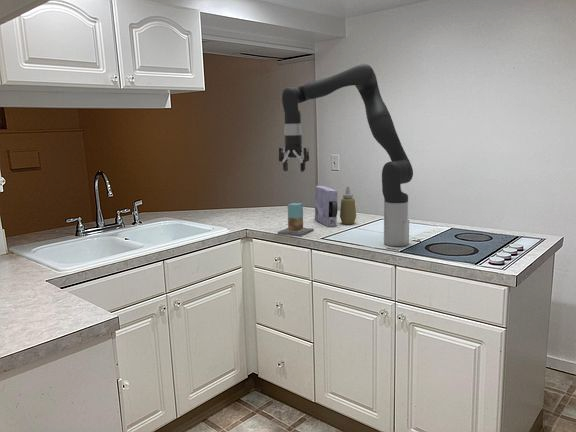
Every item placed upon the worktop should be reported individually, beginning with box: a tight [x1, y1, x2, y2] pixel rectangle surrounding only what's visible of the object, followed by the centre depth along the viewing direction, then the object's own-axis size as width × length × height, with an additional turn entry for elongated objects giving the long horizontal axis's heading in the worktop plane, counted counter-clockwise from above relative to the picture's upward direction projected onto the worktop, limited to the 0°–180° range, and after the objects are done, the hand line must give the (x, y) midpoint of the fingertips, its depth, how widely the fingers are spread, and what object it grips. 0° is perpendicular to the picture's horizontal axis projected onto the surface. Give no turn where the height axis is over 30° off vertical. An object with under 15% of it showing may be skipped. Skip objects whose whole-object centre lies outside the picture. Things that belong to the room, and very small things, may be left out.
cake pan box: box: [314, 185, 339, 228], centre depth 228 cm, size 19×5×18 cm, turn 18°
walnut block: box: [287, 216, 304, 232], centre depth 211 cm, size 5×5×6 cm
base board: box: [277, 227, 315, 238], centre depth 212 cm, size 12×12×1 cm
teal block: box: [287, 202, 304, 219], centre depth 210 cm, size 5×5×6 cm
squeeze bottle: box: [339, 186, 357, 225], centre depth 226 cm, size 8×8×18 cm
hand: (294, 171), depth 207 cm, fingers open, 8 cm apart
